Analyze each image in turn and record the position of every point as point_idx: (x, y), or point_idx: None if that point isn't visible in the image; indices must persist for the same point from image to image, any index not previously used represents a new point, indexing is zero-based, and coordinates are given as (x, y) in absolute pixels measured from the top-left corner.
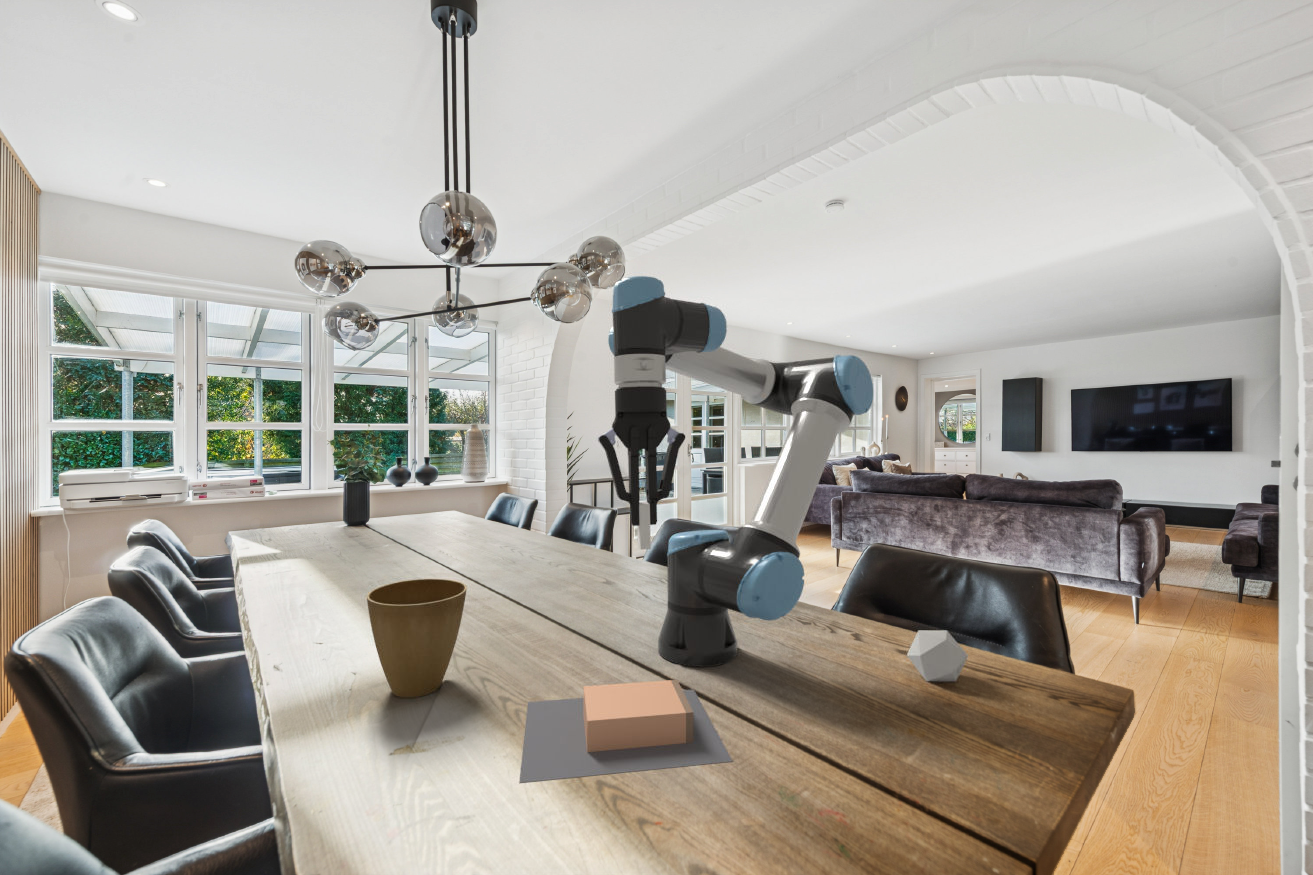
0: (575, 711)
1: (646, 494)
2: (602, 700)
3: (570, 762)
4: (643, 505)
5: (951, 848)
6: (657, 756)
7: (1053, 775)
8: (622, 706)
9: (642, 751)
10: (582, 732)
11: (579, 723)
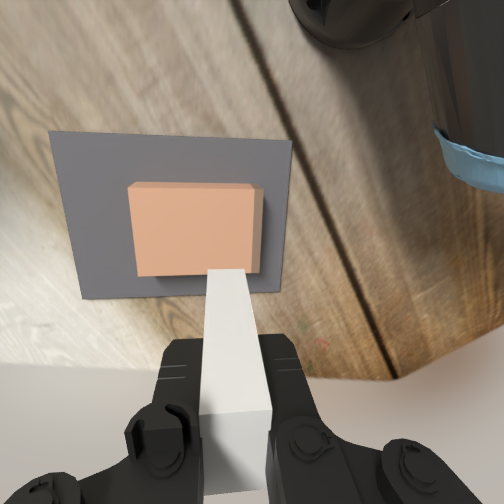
0: (124, 174)
1: (280, 477)
2: (155, 232)
3: (128, 276)
4: (227, 485)
5: (367, 370)
6: None
7: (488, 322)
8: (180, 250)
9: None
10: None
11: None
